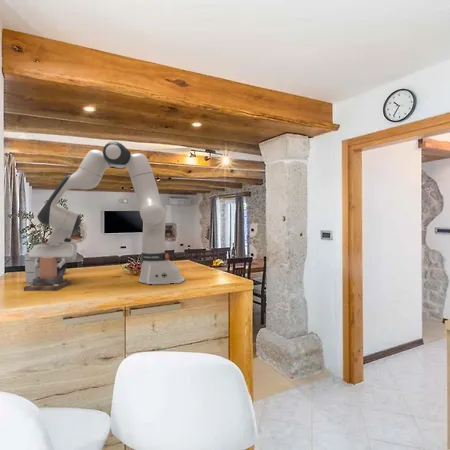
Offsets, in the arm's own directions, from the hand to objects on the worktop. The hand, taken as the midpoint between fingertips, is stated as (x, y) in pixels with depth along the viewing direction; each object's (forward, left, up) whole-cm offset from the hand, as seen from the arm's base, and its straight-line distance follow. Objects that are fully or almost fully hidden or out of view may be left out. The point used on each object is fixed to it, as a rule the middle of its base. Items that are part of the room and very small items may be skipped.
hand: (47, 267), depth 143 cm
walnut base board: (0, -1, -9) cm, 9 cm away
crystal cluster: (+11, -30, -9) cm, 34 cm away
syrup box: (+12, -13, -9) cm, 20 cm away
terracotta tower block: (0, -1, -7) cm, 7 cm away
